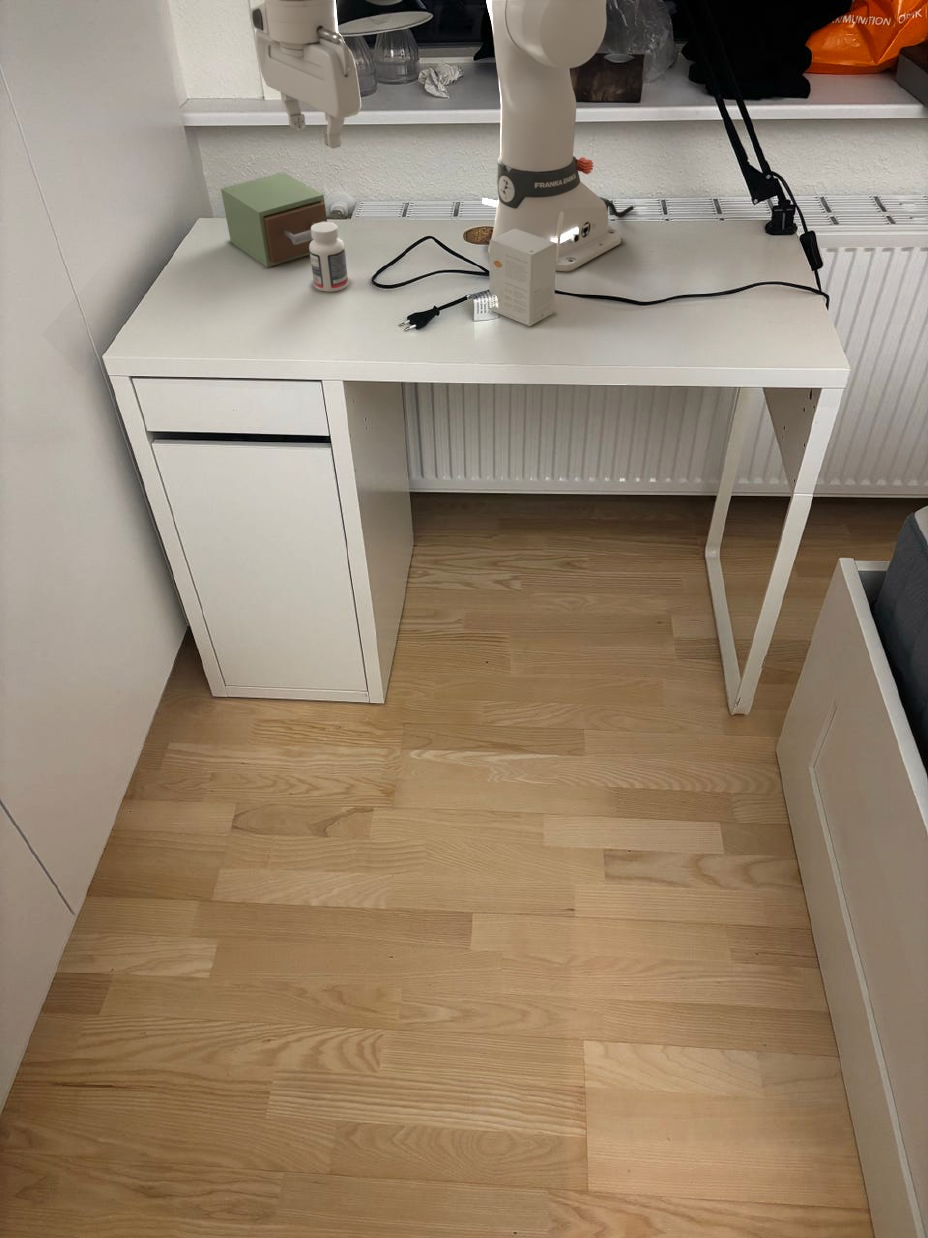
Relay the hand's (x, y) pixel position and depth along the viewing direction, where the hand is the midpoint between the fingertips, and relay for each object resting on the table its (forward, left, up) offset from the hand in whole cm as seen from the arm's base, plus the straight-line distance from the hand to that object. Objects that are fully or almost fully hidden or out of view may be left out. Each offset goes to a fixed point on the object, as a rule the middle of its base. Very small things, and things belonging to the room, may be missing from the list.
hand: (315, 137), depth 127 cm
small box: (-17, +25, -21) cm, 37 cm away
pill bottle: (0, 0, -21) cm, 21 cm away
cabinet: (-1, -18, -21) cm, 28 cm away
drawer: (-1, -14, -20) cm, 25 cm away
